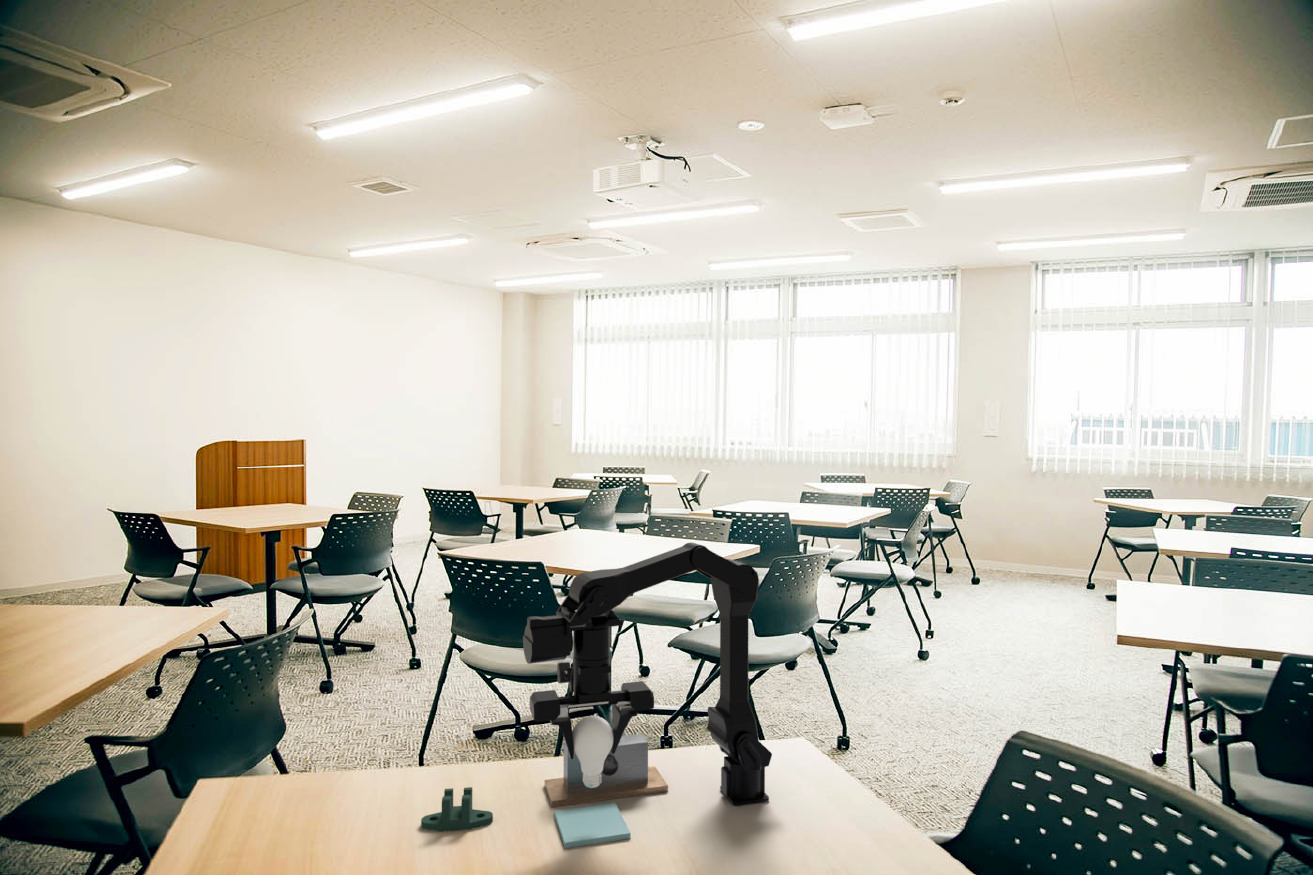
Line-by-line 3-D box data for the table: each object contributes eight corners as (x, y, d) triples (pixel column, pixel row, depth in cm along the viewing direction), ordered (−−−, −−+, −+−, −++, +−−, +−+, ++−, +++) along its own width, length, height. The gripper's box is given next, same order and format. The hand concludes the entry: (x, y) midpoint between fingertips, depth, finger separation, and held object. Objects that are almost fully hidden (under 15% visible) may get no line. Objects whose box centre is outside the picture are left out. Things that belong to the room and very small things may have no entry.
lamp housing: (654, 771, 139) (654, 727, 139) (667, 791, 131) (667, 744, 131) (544, 785, 133) (544, 739, 133) (551, 807, 126) (551, 758, 126)
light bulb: (607, 799, 116) (607, 726, 116) (565, 795, 117) (565, 723, 117) (618, 780, 122) (618, 711, 122) (578, 776, 123) (578, 708, 123)
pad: (615, 807, 126) (615, 802, 126) (630, 838, 116) (630, 832, 116) (554, 815, 123) (554, 810, 123) (564, 848, 113) (564, 842, 113)
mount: (493, 815, 123) (493, 784, 123) (491, 829, 119) (491, 797, 119) (423, 819, 122) (423, 788, 122) (418, 834, 118) (418, 801, 118)
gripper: (636, 637, 130) (636, 729, 130) (525, 646, 124) (525, 742, 125) (654, 655, 119) (655, 756, 119) (534, 666, 114) (534, 771, 114)
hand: (592, 755), depth 119 cm, fingers closed on light bulb, 6 cm apart
